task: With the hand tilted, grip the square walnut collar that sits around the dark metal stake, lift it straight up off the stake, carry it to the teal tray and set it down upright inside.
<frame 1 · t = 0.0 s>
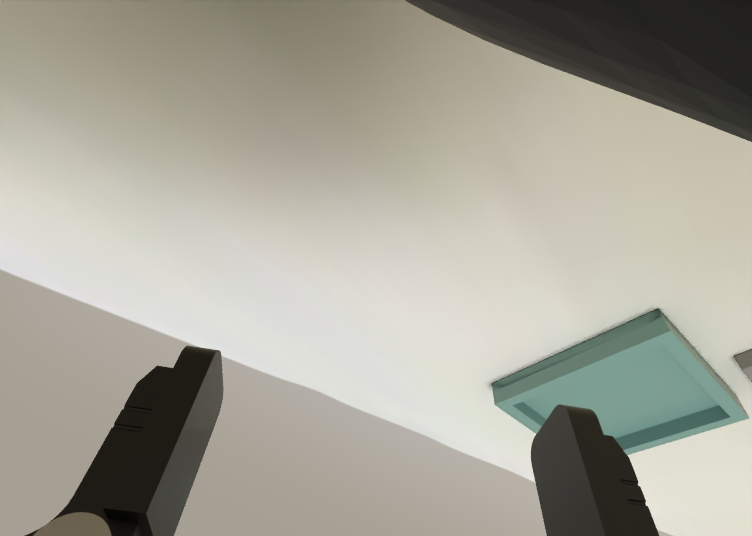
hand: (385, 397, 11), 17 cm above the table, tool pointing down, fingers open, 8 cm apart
tray: (612, 389, 39), on the table
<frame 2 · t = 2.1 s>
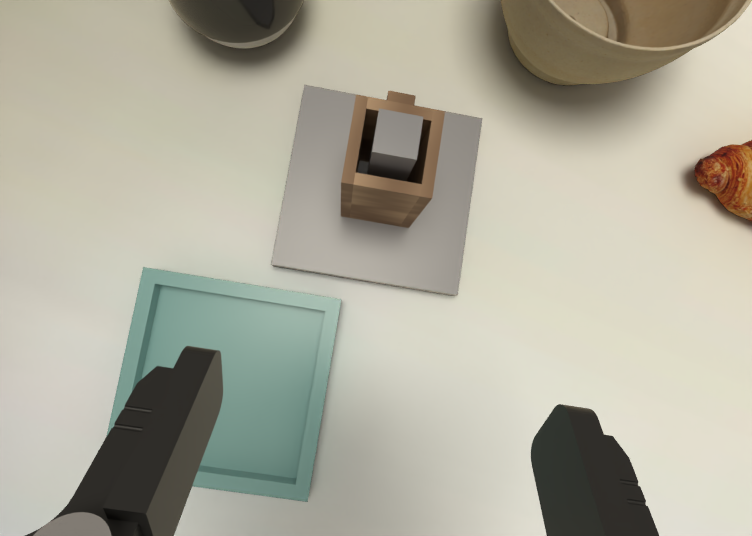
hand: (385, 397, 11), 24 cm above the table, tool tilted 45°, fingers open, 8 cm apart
black electric kettle: (247, 9, 38), on the table
planter bowl: (559, 33, 40), on the table
tray: (231, 379, 34), on the table
collar: (380, 188, 36), point 1 cm above the table, touching stake
stake: (378, 192, 37), on the table
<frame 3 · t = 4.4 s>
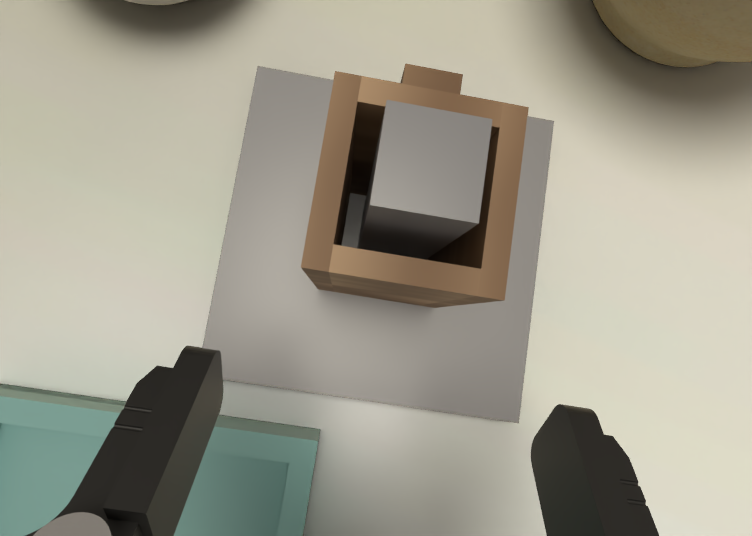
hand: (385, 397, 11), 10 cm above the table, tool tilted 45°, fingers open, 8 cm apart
collar: (385, 241, 21), point 1 cm above the table, touching stake
stake: (383, 245, 22), on the table
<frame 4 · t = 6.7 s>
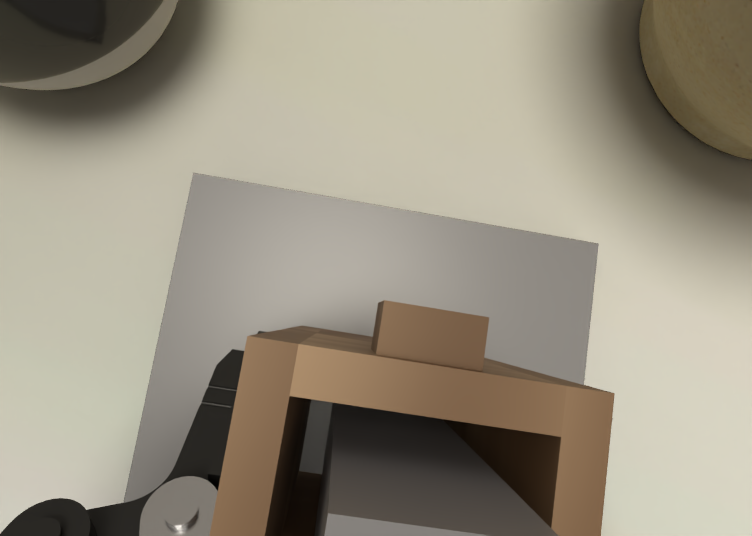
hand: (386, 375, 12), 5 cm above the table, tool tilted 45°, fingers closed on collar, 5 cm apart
black electric kettle: (81, 1, 17), on the table
planter bowl: (742, 49, 19), on the table
collar: (368, 418, 15), point 1 cm above the table, touching gripper, stake
stake: (366, 411, 16), on the table
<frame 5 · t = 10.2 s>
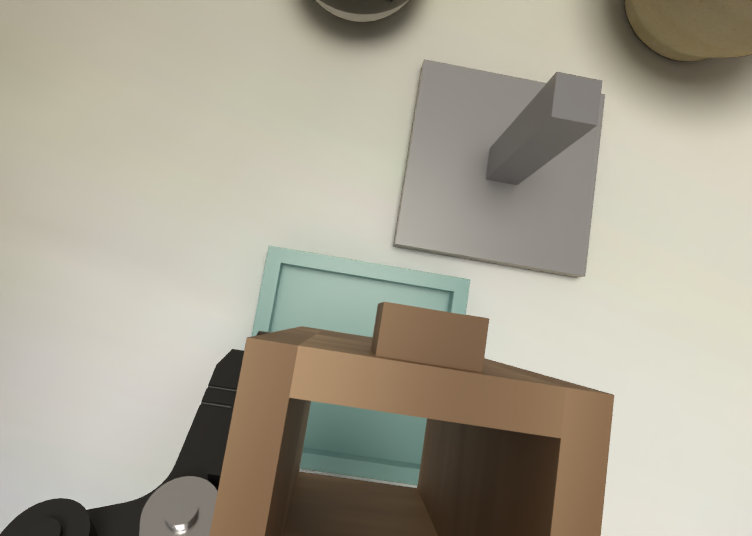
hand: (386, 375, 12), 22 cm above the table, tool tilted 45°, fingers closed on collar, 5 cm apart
planter bowl: (676, 8, 38), on the table
tray: (353, 362, 33), on the table
collar: (368, 419, 15), point 18 cm above the table, touching gripper
stake: (498, 171, 36), on the table
when the fingers open (6 cm above the table, at t = 13.6 s): collar drops 1 cm, resting on tray.
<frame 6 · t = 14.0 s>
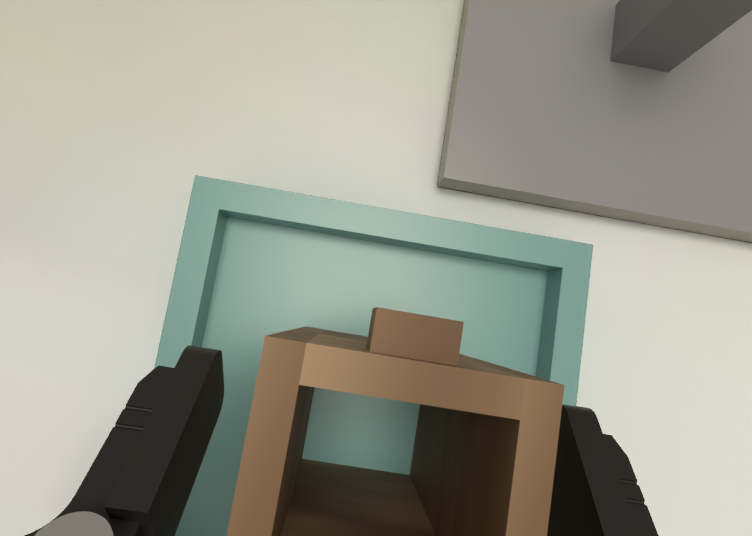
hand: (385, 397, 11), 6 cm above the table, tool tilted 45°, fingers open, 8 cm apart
tray: (363, 405, 17), on the table
collar: (365, 411, 17), point 1 cm above the table, touching tray
stake: (623, 55, 20), on the table
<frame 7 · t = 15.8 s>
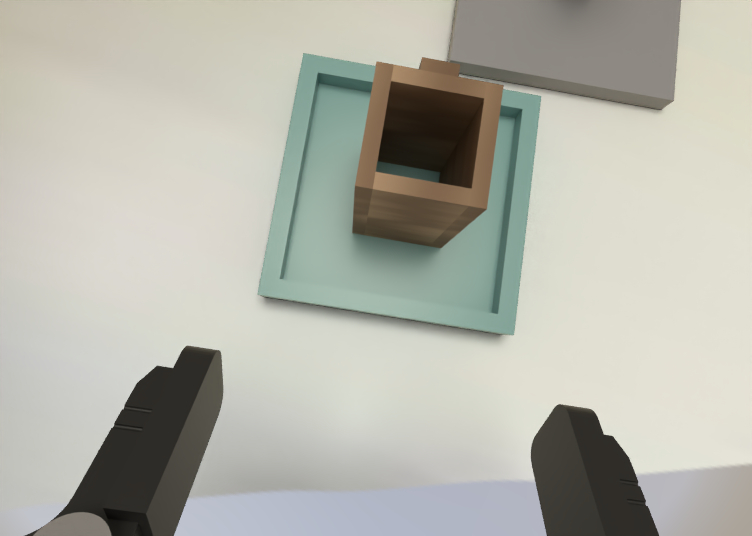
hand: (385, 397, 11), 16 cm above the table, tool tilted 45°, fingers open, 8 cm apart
tray: (401, 200, 28), on the table
collar: (403, 197, 27), point 1 cm above the table, touching tray
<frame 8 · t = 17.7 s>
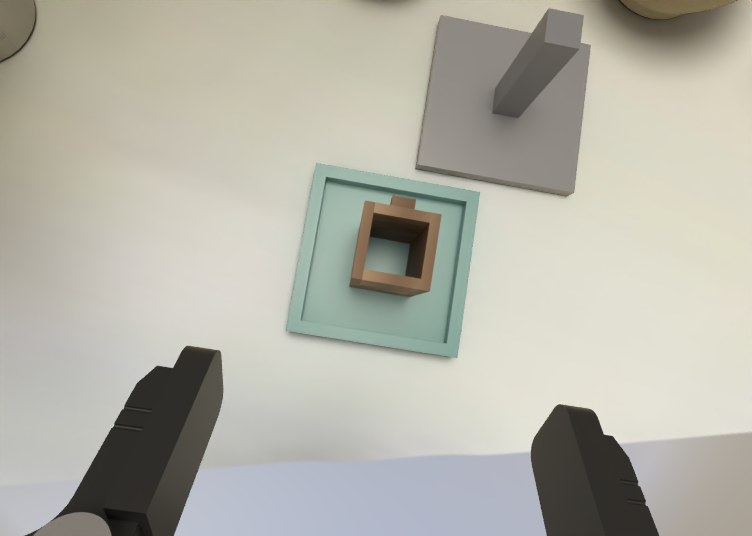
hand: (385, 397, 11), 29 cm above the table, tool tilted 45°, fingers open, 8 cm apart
tray: (383, 262, 41), on the table
collar: (384, 261, 40), point 1 cm above the table, touching tray
stake: (502, 108, 43), on the table
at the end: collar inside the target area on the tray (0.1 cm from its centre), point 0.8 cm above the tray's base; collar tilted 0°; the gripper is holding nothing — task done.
